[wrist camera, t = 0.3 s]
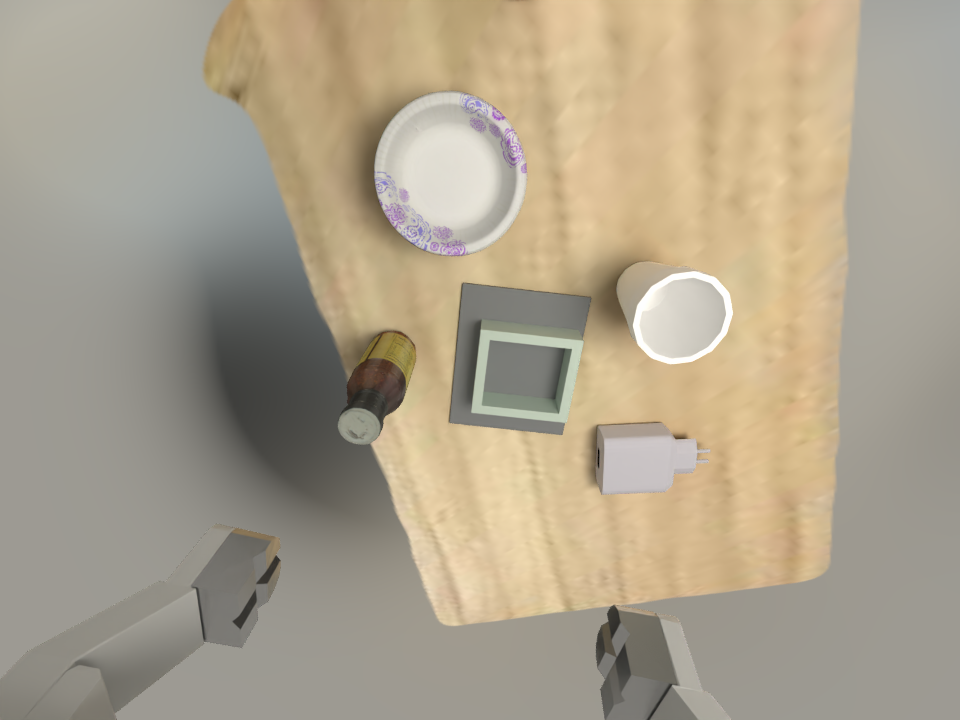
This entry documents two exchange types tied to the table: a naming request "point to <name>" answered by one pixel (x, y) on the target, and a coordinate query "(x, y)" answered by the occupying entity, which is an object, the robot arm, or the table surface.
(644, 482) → the charger
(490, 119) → the paper bowls
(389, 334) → the sauce bottle
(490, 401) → the bottle holder
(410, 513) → the table surface
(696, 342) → the foam cup
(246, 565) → the robot arm
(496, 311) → the mat
